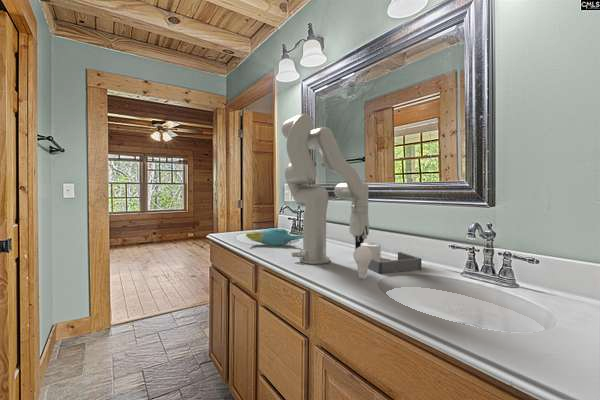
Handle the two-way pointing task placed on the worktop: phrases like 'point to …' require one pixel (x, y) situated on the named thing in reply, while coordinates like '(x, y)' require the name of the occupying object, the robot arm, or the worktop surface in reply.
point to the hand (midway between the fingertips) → (359, 250)
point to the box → (396, 264)
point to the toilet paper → (374, 250)
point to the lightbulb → (362, 260)
